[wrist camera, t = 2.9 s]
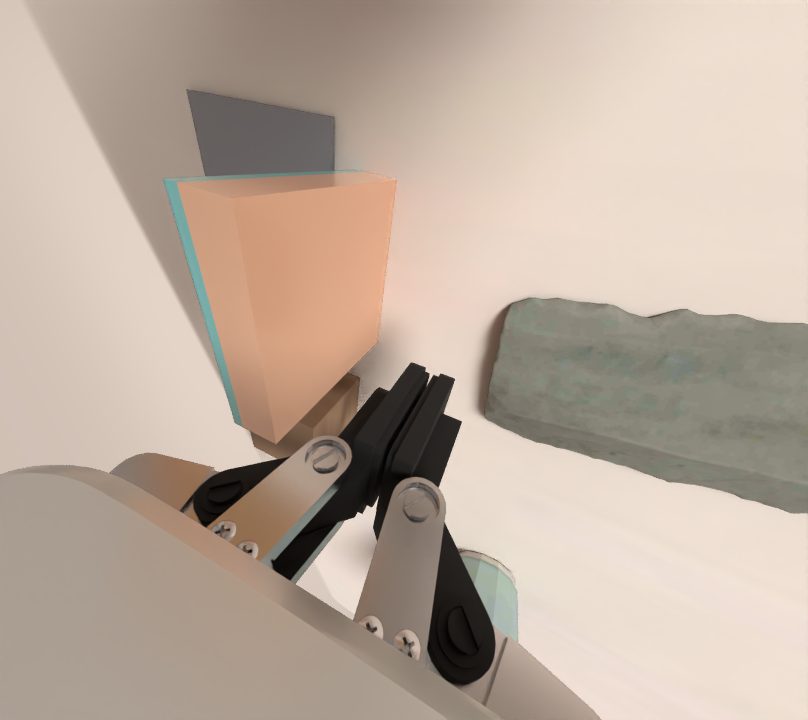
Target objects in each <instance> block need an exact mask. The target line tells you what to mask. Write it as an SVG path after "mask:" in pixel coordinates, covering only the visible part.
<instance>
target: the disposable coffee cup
mask: <svg viewBox="0 0 808 720" xmlns="http://www.w3.org/2000/svg"><path fill="white" fill-rule="evenodd" d="M459 554H460V556H461V558H462V560H463V562H464V564H465V566H466V568H467V571H468V573H469V575H470V577H471V579H472V581H473V583H474V585H475V587H476V590H477V592H478V594H479V596H480V598H481V600H482V602H483V604H484V606H485V608H486V611H487V613H488V615H489V617H490V620H491V623H492V624H493V625H494V626H495V627H496V628H497V629H498V630H499V631H501V632H502V633H503V634H504V635H505V636H506V637H507V636H509V635H510V636H511V637H512V638H513V639H514V640H515V641H517V642H518V603H517V590H516V588H515V581H514V579H513V577H512V575H511V572H510V571H508V570H507V569H506V568H505V567H504V566H503V565H501V564H500V563H499V562H498V561H496V560H494V559H492V558H490V557H488V556H486V555H484V554H480V553H476V552H471V551H464V552H460V553H459Z"/></svg>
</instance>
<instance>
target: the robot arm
mask: <svg viewBox="0 0 808 720" xmlns="http://www.w3.org/2000/svg"><path fill="white" fill-rule="evenodd" d="M425 370H426V368H425V367H423V366H420V365H418V364H415V363H412V362H411V363H410V364H409V366H408V367H407V368H406V370H405V371H404V372H403V374H402V375H401V376H400V378H399V379H398V380H397V382H396V383H395V385H394V386H393V387H392V389H391V390H390V391H387V390H385V389H382V388H380V387H379V388H377V389H376V390H375V392H374V393H373V394H372V395H371V396H370V398H369V399H368V400H367V401H366V403H365V404H364V405H363V406H362V408H361V409H360V410H359V411H358V412H357V414H356V415H355V416H354V417H353V419H352V420H351V421H350V422H349V424H348V425H347V426H346V427H345V429H344V430H343V431H342V432H341V433H340V435H339V436H338V437H335V436H330V435H328V436H320V437H317V438H314V439H312V440H311V441H309V442H308V443H306V444H305V445H304V446H303V447H302V448H300V449H299V450H298V451H297V452H296V453H294V454H293V455H292V456H290V457H285V458H281V459H276V460H271V461H266V462H262V463H257V464H253V465H248V466H243V467H238V468H234V469H229V470H225V471H223V472H217V471H215V469H214V467H210V466H205V465H202V464H198V463H194V462H190V461H185V460H181V459H177V458H173V457H169V456H165V455H161V454H157V453H144V454H139V455H135V456H133V457H131V458H128V459H126V460H125V461H123V462H122V463H121V464H119V465H118V466H117V467H115V468H114V469H113V470H112V471H111V472H110V473H107V472H104V471H101V470H97V469H93V468H88V467H80V466H73V465H46V466H45V465H43V466H32V467H26V468H22V469H17V470H13V471H9V472H6V473H4V474H0V720H601V719H600V718H599V716H598V715H597V714H596V713H595V712H594V711H593V709H591V708H590V707H589V706H588V705H587V704H586V703H585V702H584V701H582V700H581V699H580V698H579V697H578V696H577V695H576V694H575V693H574V692H572V691H571V690H570V689H569V688H568V687H567V686H566V685H565V684H564V683H562V682H561V681H560V680H559V679H558V678H557V677H556V676H555V675H553V674H552V673H551V672H550V671H549V670H548V669H547V668H546V667H545V666H543V665H542V664H541V663H540V662H539V661H538V660H537V659H536V658H534V657H533V656H532V655H531V654H530V653H529V652H528V651H527V650H526V649H524V648H523V647H522V646H521V645H520V644H519V643H518V642H517V641H515V640H514V639H513V638H512V637H511V636H510V635H509V636H507V637H506V636H505V635H504V634H503V633H502V632H501V631H499V630H498V629H497V628H496V627H495V626H494V625H493V624H492V623H491V620H490V617H489V615H488V613H487V611H486V608H485V606H484V604H483V602H482V600H481V598H480V596H479V594H478V592H477V590H476V587H475V585H474V583H473V581H472V579H471V577H470V575H469V573H468V571H467V568H466V566H465V564H464V562H463V560H462V558H461V556H460V554H459V552H458V550H457V547H456V545H455V543H454V541H453V539H452V537H451V535H450V533H449V531H448V529H447V526H446V524H445V522H444V521H445V514H446V502H445V499H444V496H443V494H442V493H441V491H440V490H439V485H440V482H441V479H442V476H443V474H444V471H445V468H446V465H447V462H448V460H449V457H450V454H451V451H452V448H453V446H454V443H455V440H456V437H457V434H458V432H459V429H460V426H461V423H462V421H459V420H457V419H455V418H452V417H450V416H447V415H445V414H443V413H444V410H445V407H446V404H447V402H448V399H449V396H450V393H451V390H452V387H453V384H454V381H455V379H454V378H451V377H449V376H446V375H444V374H440V375H439V377H438V376H435V375H433V377H432V378H431V380H430V382H429V384H428V385H427V382H428V379H429V373H427V372H425ZM426 386H427V387H426ZM378 496H379V499H378V504H377V508H376V510H377V511H376V516H375V520H374V525H373V529H374V532H375V536H376V539H377V545H376V548H375V551H374V554H373V558H372V561H371V564H370V567H369V571H368V574H367V577H366V580H365V584H364V587H363V590H362V593H361V597H360V600H359V603H358V606H357V609H356V613H355V616H354V619H353V621H352V620H351V619H349V618H348V617H346V616H345V615H343V614H342V613H340V612H338V611H337V610H335V609H334V608H332V607H331V606H329V605H327V604H326V603H324V602H323V601H321V600H319V599H318V598H316V597H315V596H313V595H311V594H310V593H308V592H307V591H305V590H304V589H302V588H301V587H299V586H297V585H296V583H297V581H298V580H299V579H300V577H301V576H302V575H303V574H304V572H305V571H306V570H307V569H308V567H309V566H310V565H311V564H312V562H313V561H314V560H315V559H316V557H317V556H318V555H319V554H320V552H321V551H322V550H323V549H324V547H325V546H326V545H327V544H328V542H329V541H330V540H331V539H332V537H333V536H334V535H335V533H336V532H337V531H338V530H339V528H340V527H341V526H342V524H343V522H344V521H345V520H348V519H351V518H354V517H355V516H356V514H357V512H359V513H361V514H363V512H364V510H365V508H366V506H367V505H368V506H370V507H373V505H374V504H375V502H376V500H377V498H378Z"/></svg>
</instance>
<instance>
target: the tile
mask: <svg viewBox="0 0 808 720" xmlns="http://www.w3.org/2000/svg"><path fill="white" fill-rule="evenodd" d="M163 180H164V183H165V187H166V190H167V194H168V197H169V200H170V204H171V207H172V211H173V214H174V218H175V221H176V224H177V228H178V231H179V235H180V238H181V241H182V245H183V248H184V252H185V255H186V258H187V262H188V265H189V269H190V272H191V275H192V279H193V282H194V286H195V289H196V292H197V296H198V299H199V303H200V306H201V309H202V313H203V316H204V320H205V323H206V326H207V330H208V333H209V337H210V340H211V343H212V347H213V350H214V354H215V357H216V360H217V364H218V367H219V371H220V374H221V377H222V381H223V384H224V388H225V391H226V394H227V398H228V401H229V404H230V408H231V411H232V415H233V418H234V422H235V423H236V424H238V425H240V426H242V427H244V428H245V429H247V430H249V431H251V432H253V433H255V434H257V435H259V436H261V437H263V438H265V439H267V440H269V441H271V442H273V443H275V444H277V443H278V442H279V441H280V440H281V439H282V438H283V437H284V436H285V435H286V434H287V433H288V432H289V431H290V430H291V429H292V428H293V427H294V426H295V425H296V424H297V423H298V422H299V421H300V420H301V419H302V418H303V417H304V416H305V415H306V414H307V413H308V412H309V411H310V410H311V409H312V408H313V407H314V406H315V405H316V404H317V403H318V401H319V400H320V399H321V398H322V397H323V396H324V395H325V394H326V393H327V392H328V391H329V390H330V389H331V388H332V387H333V386H334V385H335V384H336V383H337V382H338V381H339V380H340V379H341V378H342V377H343V376H344V375H345V374H346V373H347V372H348V371H349V370H350V369H351V368H352V367H353V366H354V365H355V364H356V363H357V362H358V361H359V360H360V359H361V358H362V357H363V356H364V355H365V354H366V353H367V352H368V351H369V350H370V349H371V348H372V347H373V346H374V345H375V344H376V343H377V342H378V335H379V327H380V318H381V310H382V301H383V293H384V284H385V276H386V267H387V259H388V250H389V242H390V233H391V225H392V216H393V208H394V199H395V190H396V182H397V179H392V178H388V177H384V176H379V175H375V174H371V173H367V172H362V171H358V170H343V171H320V172H297V173H273V174H250V175H227V176H204V177H181V178H163Z"/></svg>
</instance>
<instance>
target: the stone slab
mask: <svg viewBox="0 0 808 720" xmlns="http://www.w3.org/2000/svg"><path fill="white" fill-rule="evenodd" d="M484 415H485V418H486V419H487V420H488V421H491V422H493V423H495V424H497V425H498V426H500V427H502V428H504V429H507V430H510V431H513V432H515V433H517V434H519V435H520V436H522V437H524V438H527V439H530V440H532V441H535V442H538V443H544V444H548V445H552V446H554V447H557V448H563V449H567V450H571V451H574V452H578V453H581V454H584V455H587V456H590V457H592V458H595V459H602V460H605V461H609V462H612V463H615V464H618V465H623V466H627V467H630V468H633V469H635V470H638V471H640V472H643V473H645V474H648V475H651V476H654V477H656V478H658V479H663V480H665V481H667V482H676V483H684V484H693V485H699V486H704V487H709V488H713V489H717V490H722V491H725V492H728V493H732V494H734V495H736V496H738V497H740V498H742V499H747V500H752V501H757V502H759V503H762V504H764V505H768V506H772V507H775V508H779V509H781V510H784V511H787V512H789V513H808V324H804V323H767V322H763V321H758V320H755V319H752V318H750V317H746V316H743V315H738V314H728V315H701V314H697V313H694V312H692V311H690V310H688V309H679V310H675V311H671V312H668V313H665V314H661V315H658V316H656V317H651V318H646V317H641V316H637V315H634V314H630V313H628V312H626V311H624V310H622V309H621V308H619V307H617V306H614V305H609V304H595V303H590V302H588V303H584V302H575V301H570V300H565V299H561V298H556V299H549V300H545V299H539V298H530V299H526V300H523V301H519V302H516V303H512V304H511V305H510V307H509V308H508V310H507V312H506V314H505V319H504V325H503V328H502V331H501V336H500V342H499V348H498V354H497V356H496V359H495V361H494V365H493V369H492V375H491V380H490V385H489V392H488V397H487V400H486V407H485V411H484Z"/></svg>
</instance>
